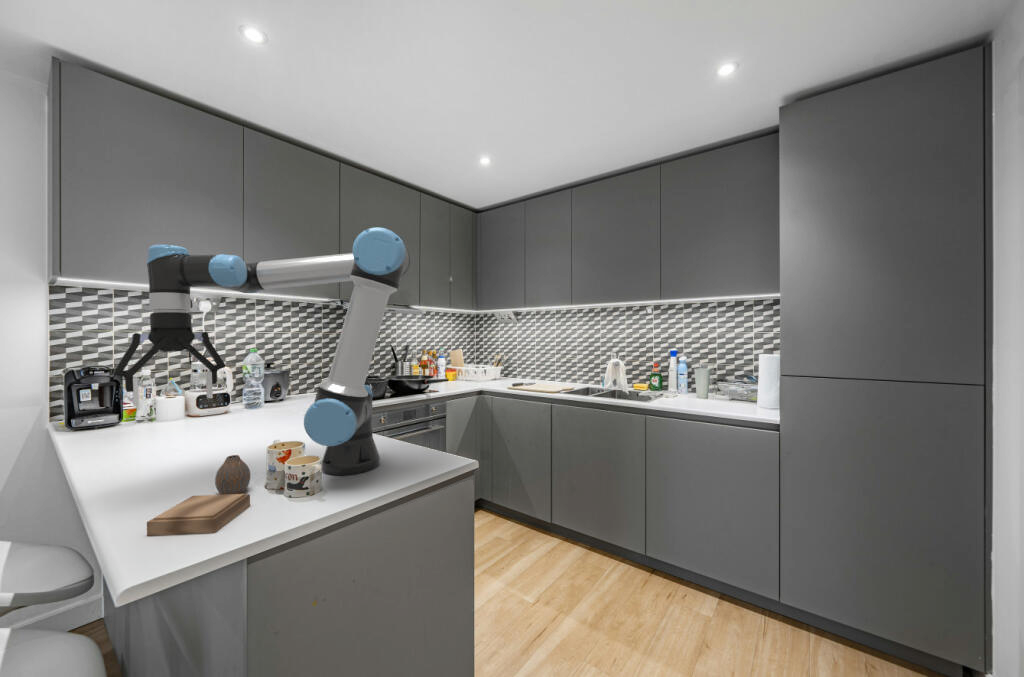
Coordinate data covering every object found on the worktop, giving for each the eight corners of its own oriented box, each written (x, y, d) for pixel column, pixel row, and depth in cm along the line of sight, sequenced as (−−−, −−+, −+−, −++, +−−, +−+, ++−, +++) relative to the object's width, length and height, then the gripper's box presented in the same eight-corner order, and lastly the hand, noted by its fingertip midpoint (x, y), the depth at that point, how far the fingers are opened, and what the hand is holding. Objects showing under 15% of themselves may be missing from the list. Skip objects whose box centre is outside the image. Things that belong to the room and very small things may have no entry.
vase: (253, 493, 96) (253, 456, 96) (217, 501, 92) (217, 463, 92) (247, 485, 101) (246, 450, 101) (213, 493, 97) (212, 456, 97)
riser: (250, 506, 89) (249, 492, 89) (214, 532, 77) (214, 517, 77) (191, 508, 88) (191, 494, 88) (147, 535, 76) (146, 520, 76)
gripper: (229, 313, 108) (232, 393, 109) (95, 312, 90) (99, 408, 91) (237, 312, 103) (240, 395, 103) (96, 310, 85) (100, 411, 85)
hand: (174, 401), depth 97 cm, fingers open, 13 cm apart
